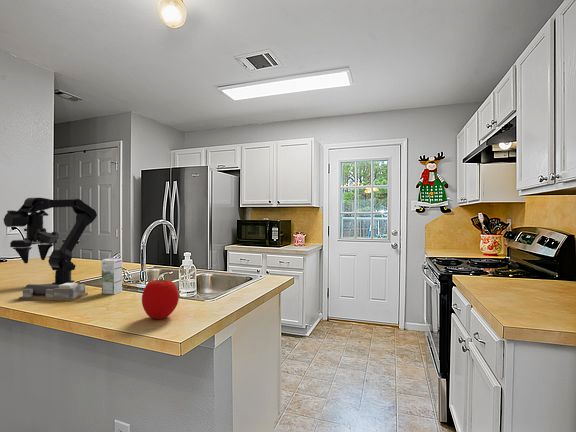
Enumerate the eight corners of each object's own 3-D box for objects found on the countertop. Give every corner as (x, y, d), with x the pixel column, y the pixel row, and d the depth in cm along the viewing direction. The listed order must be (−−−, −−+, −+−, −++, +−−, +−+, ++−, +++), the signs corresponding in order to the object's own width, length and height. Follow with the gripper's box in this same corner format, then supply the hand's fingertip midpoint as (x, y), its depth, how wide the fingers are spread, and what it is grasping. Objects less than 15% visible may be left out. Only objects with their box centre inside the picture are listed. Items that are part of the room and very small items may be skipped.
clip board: (37, 294, 132) (37, 283, 132) (87, 294, 132) (87, 284, 131) (18, 300, 123) (18, 288, 123) (72, 300, 123) (72, 289, 122)
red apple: (134, 318, 103) (134, 279, 103) (164, 310, 112) (164, 274, 112) (155, 326, 97) (155, 283, 97) (185, 316, 106) (185, 277, 106)
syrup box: (122, 291, 138) (122, 257, 137) (113, 295, 132) (113, 259, 132) (110, 291, 138) (110, 257, 138) (100, 294, 132) (100, 259, 132)
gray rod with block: (23, 295, 125) (23, 284, 125) (32, 293, 130) (32, 282, 130) (69, 296, 125) (70, 285, 125) (77, 293, 129) (77, 282, 129)
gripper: (35, 227, 131) (35, 265, 131) (68, 225, 149) (68, 258, 150) (9, 227, 131) (9, 265, 131) (44, 225, 150) (44, 258, 150)
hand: (34, 261), depth 140 cm, fingers open, 9 cm apart
